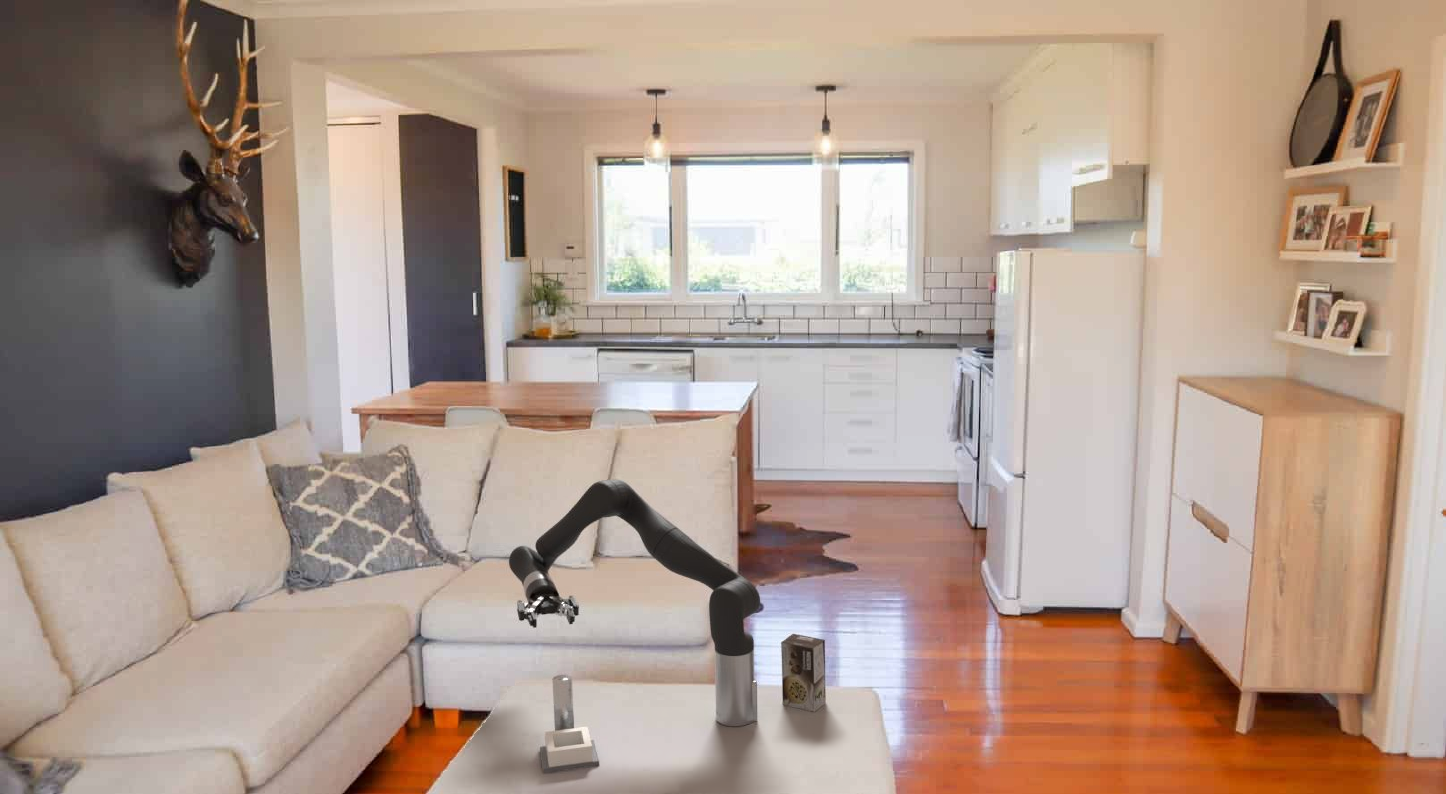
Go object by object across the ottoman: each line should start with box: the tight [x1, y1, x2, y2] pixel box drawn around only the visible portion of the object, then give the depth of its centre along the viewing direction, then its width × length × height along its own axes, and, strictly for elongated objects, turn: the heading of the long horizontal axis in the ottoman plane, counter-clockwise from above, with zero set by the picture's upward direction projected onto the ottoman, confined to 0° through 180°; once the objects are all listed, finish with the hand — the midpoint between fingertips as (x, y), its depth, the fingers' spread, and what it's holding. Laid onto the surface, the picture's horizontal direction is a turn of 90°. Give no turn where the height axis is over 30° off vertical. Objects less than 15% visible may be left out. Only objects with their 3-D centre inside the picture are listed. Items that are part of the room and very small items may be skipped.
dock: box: [539, 726, 600, 774], centre depth 225 cm, size 12×10×4 cm
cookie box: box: [780, 633, 827, 712], centre depth 249 cm, size 9×6×16 cm
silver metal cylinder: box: [552, 674, 575, 731], centre depth 234 cm, size 4×4×14 cm
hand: (553, 622), depth 239 cm, fingers open, 8 cm apart
